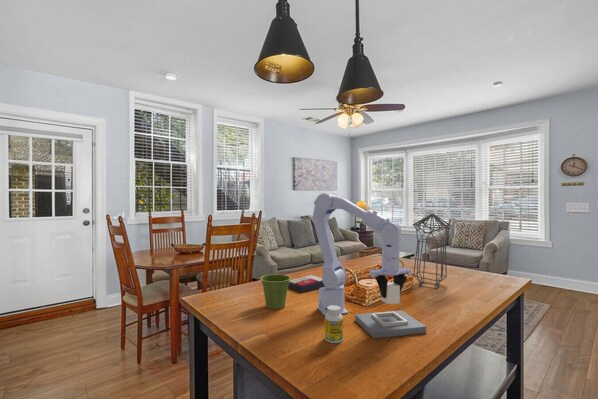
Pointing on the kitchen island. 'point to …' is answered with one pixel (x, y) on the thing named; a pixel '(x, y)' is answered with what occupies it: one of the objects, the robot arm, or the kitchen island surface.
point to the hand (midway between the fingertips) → (390, 296)
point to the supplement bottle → (333, 324)
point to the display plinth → (389, 324)
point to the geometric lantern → (431, 242)
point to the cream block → (392, 293)
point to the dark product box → (306, 283)
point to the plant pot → (275, 290)
